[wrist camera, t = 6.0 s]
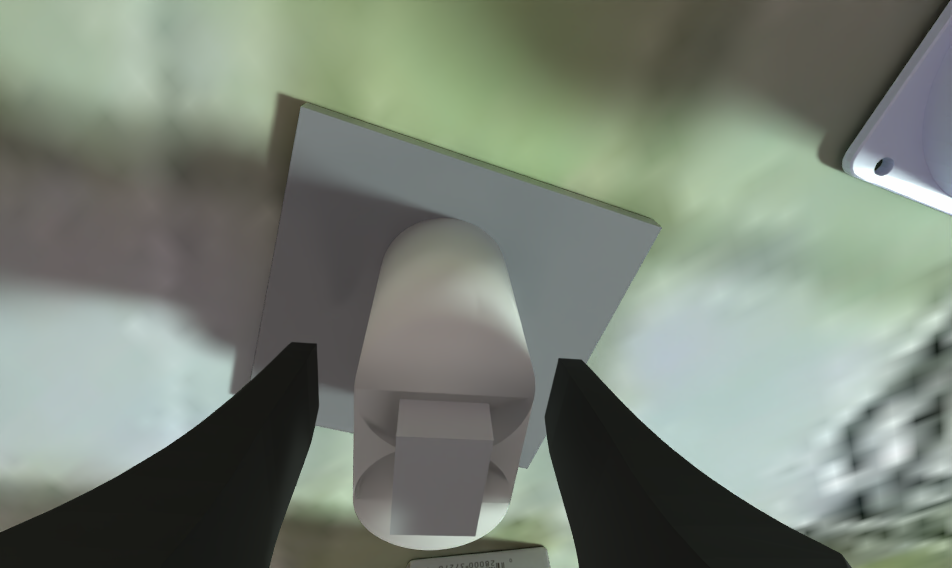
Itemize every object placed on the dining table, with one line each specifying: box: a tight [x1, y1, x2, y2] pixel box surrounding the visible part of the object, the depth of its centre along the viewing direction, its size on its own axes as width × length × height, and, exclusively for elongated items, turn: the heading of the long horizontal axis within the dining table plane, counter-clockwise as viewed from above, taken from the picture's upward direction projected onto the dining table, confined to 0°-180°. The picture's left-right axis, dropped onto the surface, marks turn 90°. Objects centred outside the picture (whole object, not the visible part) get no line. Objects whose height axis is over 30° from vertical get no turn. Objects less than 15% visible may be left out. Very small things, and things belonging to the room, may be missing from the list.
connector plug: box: [353, 218, 535, 550], centre depth 12 cm, size 4×7×6 cm, turn 173°
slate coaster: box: [250, 102, 662, 469], centre depth 15 cm, size 10×10×1 cm
